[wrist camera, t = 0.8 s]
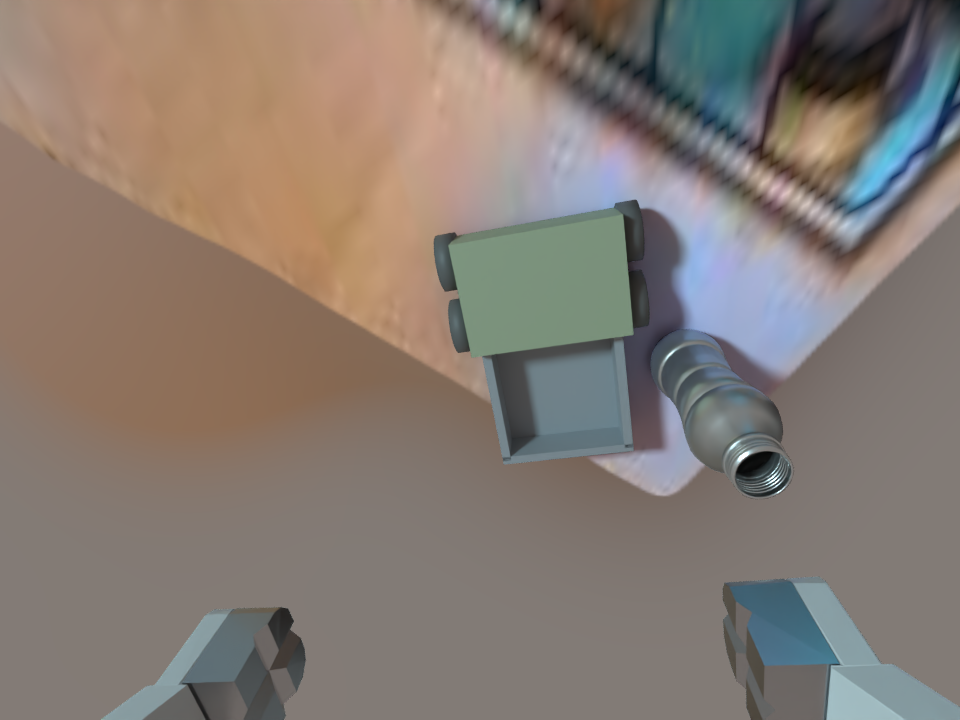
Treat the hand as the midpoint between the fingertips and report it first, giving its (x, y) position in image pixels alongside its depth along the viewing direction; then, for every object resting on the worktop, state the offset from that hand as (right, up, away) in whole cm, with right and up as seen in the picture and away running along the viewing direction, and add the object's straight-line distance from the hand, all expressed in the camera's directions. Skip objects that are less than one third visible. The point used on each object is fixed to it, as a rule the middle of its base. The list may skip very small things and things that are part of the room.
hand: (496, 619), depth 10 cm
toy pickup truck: (+7, +7, +41) cm, 42 cm away
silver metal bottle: (+19, +5, +41) cm, 45 cm away
